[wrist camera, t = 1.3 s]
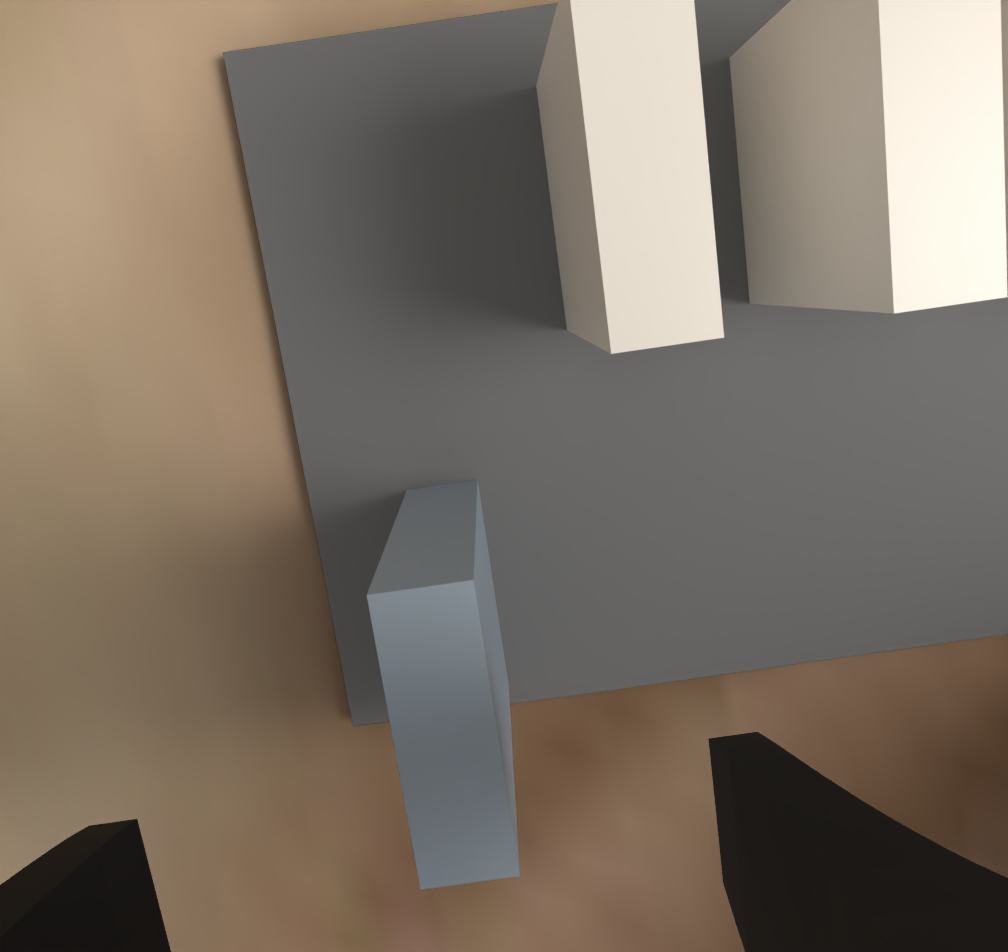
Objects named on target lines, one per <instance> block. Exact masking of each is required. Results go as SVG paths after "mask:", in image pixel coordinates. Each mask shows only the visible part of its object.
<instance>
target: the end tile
mask: <svg viewBox="0 0 1008 952" xmlns="http://www.w3.org/2000/svg"><path fill="white" fill-rule="evenodd" d="M367 600H368V605H369V611H370V616H371V622H372V627H373V633H374V638H375V644H376V649H377V654H378V660H379V665H380V671H381V676H382V682H383V687H384V693H385V698H386V704H387V709H388V715H389V720H390V725H391V731H392V736H393V742H394V747H395V753H396V758H397V764H398V769H399V775H400V780H401V785H402V791H403V796H404V802H405V807H406V813H407V818H408V824H409V829H410V835H411V840H412V845H413V851H414V856H415V862H416V867H417V873H418V878H419V884H420V889H421V890H423V889H430V888H437V887H444V886H451V885H459V884H466V883H473V882H480V881H487V880H494V879H502V878H509V877H516V876H520V869H519V852H518V835H517V818H516V802H515V785H514V768H513V751H512V734H511V717H510V700H509V684H508V677H507V671H506V664H505V658H504V651H503V644H502V638H501V631H500V625H499V618H498V611H497V605H496V598H495V592H494V585H493V578H492V572H491V565H490V559H489V552H488V545H487V539H486V532H485V526H484V519H483V512H482V506H481V499H480V493H479V486H478V480H472V481H465V482H458V483H451V484H445V485H438V486H431V487H424V488H417V489H410V490H407V491H406V494H405V496H404V499H403V502H402V504H401V507H400V509H399V512H398V515H397V517H396V520H395V522H394V525H393V528H392V530H391V533H390V535H389V538H388V541H387V543H386V546H385V549H384V551H383V554H382V556H381V559H380V562H379V564H378V567H377V569H376V572H375V575H374V577H373V580H372V582H371V585H370V588H369V590H368V593H367Z"/></svg>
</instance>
